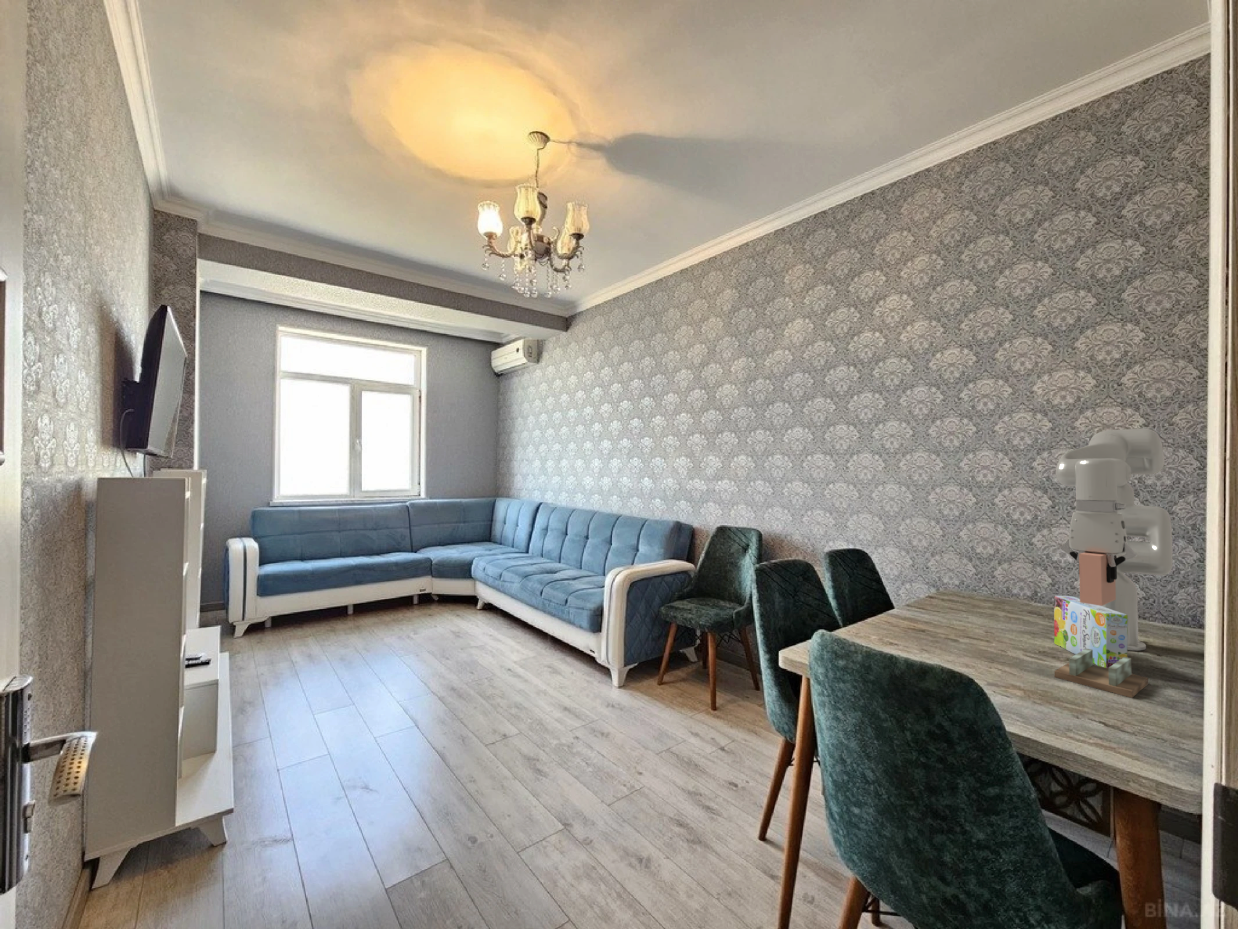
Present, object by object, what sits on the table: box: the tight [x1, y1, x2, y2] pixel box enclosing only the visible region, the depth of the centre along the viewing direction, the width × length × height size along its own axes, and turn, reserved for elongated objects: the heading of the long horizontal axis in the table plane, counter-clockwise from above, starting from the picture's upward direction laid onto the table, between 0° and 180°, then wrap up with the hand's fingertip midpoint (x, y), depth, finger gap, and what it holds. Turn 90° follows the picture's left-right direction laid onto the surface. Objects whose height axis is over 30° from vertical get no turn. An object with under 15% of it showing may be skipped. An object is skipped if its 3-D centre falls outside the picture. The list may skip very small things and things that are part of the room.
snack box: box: [1053, 595, 1128, 668], centre depth 140 cm, size 21×6×15 cm, turn 168°
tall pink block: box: [1078, 552, 1116, 606], centre depth 125 cm, size 11×4×12 cm, turn 122°
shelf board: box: [1053, 648, 1149, 699], centre depth 124 cm, size 14×14×6 cm
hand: (1097, 579), depth 125 cm, fingers closed on tall pink block, 4 cm apart
